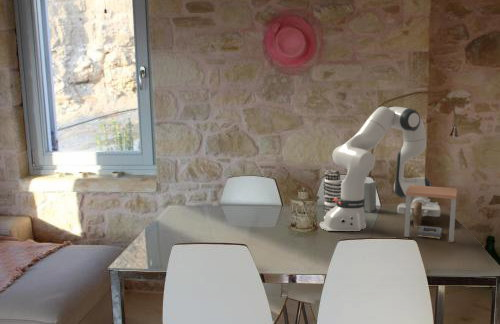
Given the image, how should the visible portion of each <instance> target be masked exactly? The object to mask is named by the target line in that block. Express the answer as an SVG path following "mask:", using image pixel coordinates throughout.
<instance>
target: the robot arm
mask: <svg viewBox="0 0 500 324" xmlns="http://www.w3.org/2000/svg"><path fill="white" fill-rule="evenodd" d="M390 128H392V129H396V130H399V131H400V130H401V131H402V133H403V134H402V137H403V138H402V139H403V144H402V147H401V148H400V149H398V152H397V157H396V167H395V169H396V170H395V178H394V185H393V191H394V194H395V195H396V196H397V197H399V198H400V199H403V198H406V191H407V189H408V187H409V185H417V186H431V187H433V186H432V183H431V181H430V180H429V179H428V178H427V177H425V176H423V177H421V176H419V177H418V176H417V177H404V174H405V164H406V163H407V162H408V161H410V160H412V159H413V158H417V157H418V156H420V155H422V154H423V153H424V152H425V150H426V148H427V134H426V133H427V132H426V128H425V124H424V122H423V119H422V118H421V116H420V113H419V112H418V111H417V110H415V109H413V108H407V107H403V106H379V107H377V109H375V110H374V111H373V113H372V114H371V115H370V116H368V118H367V119H366V121H365V122H364V123H363V125H362V126H361V127H360V129H359V130H358V132H357V133H355V134H354V135H353V136H352V137H351V138H350V139H348V140H347V141H346V142H344V143H343V144H341V145H339V146H337V147H336V148H334V149H333V152H332V155H331V157H332V161H333V163H334V164H335V165H337V166H338V167H340V168H343V169H346V170H347V173H346V175H345V178H344V179H342V180H341V181H342V182H341V183H340V184H341V186H340V188H341V190H340V191H341V193H340V195H341V196H340V198H339V199H337V198H335V199H334V201H335V202H337V205H336V206H335V207H334V208H332V209H331V210H330V211H328V212H327V213H326V215H325V218H323V221H320V222H319V227H320V229H322V230H323V229H324V230H323V231H325V230H326V232H328V231H360V230H361V229H363V230H365V229H366V228H367V227H366V226H367V223H366V219H365V218H366V217H365V211H364V208H365V199H364V185H365V181H367V180H366V179H367V176H369V173H370V172H371V171H372V170H373V169H374V167H375V165H376V158H375V155H374V154H373V153H372V152H371V151H369V150H373V149H374V148H376V147H377V146H378V144H379V143H381V141H382V140H383V138H384V137H385V135H386V134H387V132H388V131H389V129H390ZM413 197H414V198H412V200H411V209H410V216H414V202H421V203H422V212H421V217H437V218H438V217H439V218H440V217H441V206H440V205H439V202H437V201H434V200H433V201H432V200H431V198H432V197H422V196H413ZM396 209H397V211H396V212H397V214H403V215H405V209H406V202H405V203H403V202H402V203H399V204H398V205H397V208H396ZM364 228H365V229H364ZM361 231H362V230H361ZM361 231H360V232H361Z"/></svg>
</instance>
